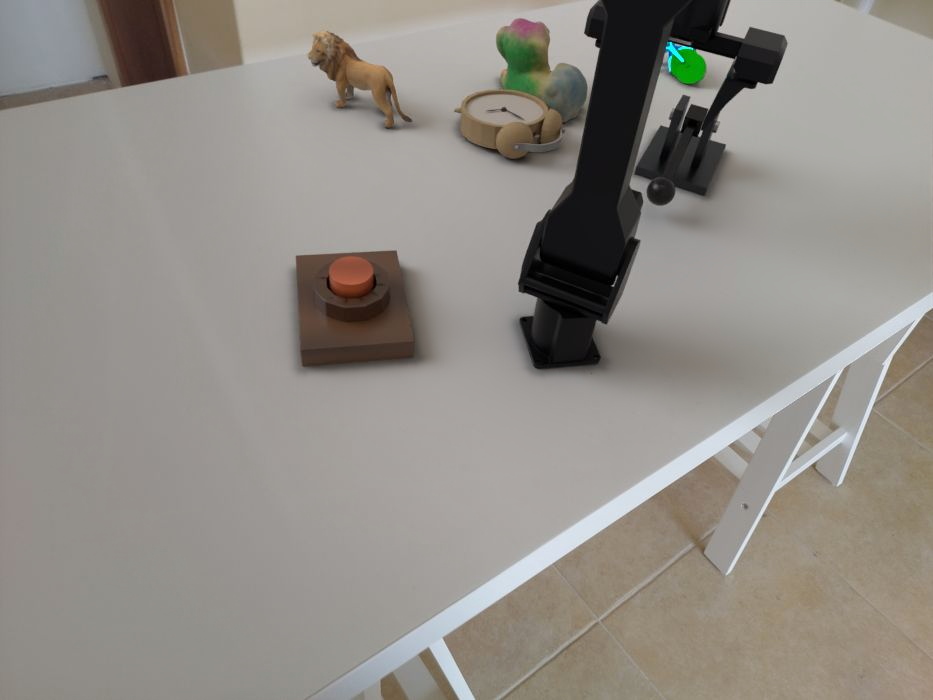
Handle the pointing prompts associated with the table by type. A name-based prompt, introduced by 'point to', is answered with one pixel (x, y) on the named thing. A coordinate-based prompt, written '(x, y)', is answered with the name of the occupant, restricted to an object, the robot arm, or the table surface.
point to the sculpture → (539, 68)
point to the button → (351, 277)
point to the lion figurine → (354, 73)
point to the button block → (352, 313)
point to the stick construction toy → (685, 63)
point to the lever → (676, 157)
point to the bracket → (696, 158)
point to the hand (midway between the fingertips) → (660, 116)
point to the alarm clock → (510, 122)
